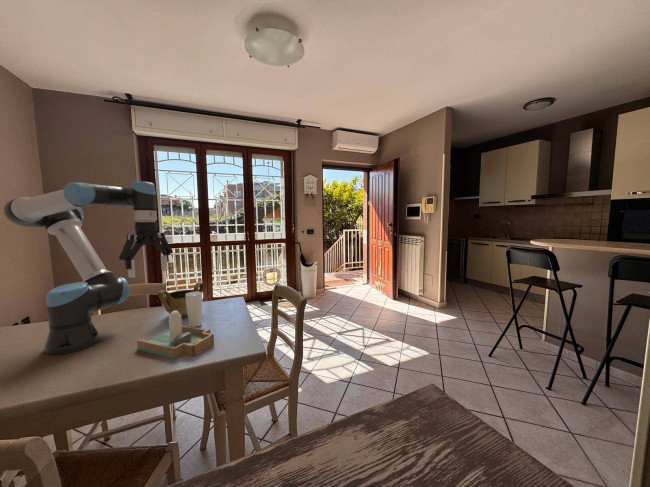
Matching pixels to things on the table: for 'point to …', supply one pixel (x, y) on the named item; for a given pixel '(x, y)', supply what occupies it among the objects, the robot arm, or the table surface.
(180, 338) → the striker
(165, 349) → the pitch
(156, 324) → the table surface
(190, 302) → the drinking glass
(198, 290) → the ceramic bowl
